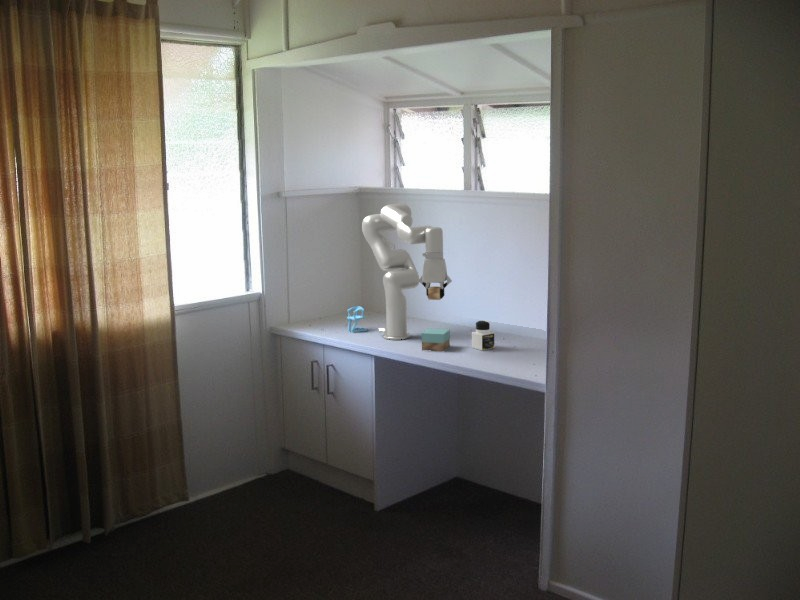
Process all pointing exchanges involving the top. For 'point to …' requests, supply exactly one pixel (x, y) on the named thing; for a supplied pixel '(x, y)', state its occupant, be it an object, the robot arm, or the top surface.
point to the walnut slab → (436, 346)
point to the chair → (355, 319)
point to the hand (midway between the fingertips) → (435, 297)
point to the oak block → (434, 293)
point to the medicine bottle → (482, 336)
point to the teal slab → (436, 335)
